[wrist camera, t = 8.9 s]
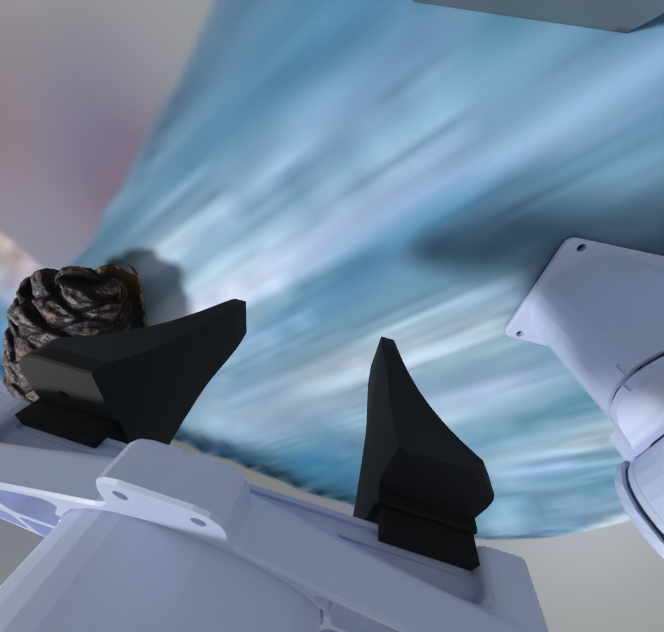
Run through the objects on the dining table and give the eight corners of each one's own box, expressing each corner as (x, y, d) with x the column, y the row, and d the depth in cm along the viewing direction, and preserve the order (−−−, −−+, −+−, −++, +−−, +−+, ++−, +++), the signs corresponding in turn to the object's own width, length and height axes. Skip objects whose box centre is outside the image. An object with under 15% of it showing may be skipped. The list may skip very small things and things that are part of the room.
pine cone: (154, 267, 25) (34, 321, 17) (155, 379, 35) (80, 448, 26) (54, 221, 25) (-121, 252, 16) (83, 347, 34) (-16, 407, 26)
